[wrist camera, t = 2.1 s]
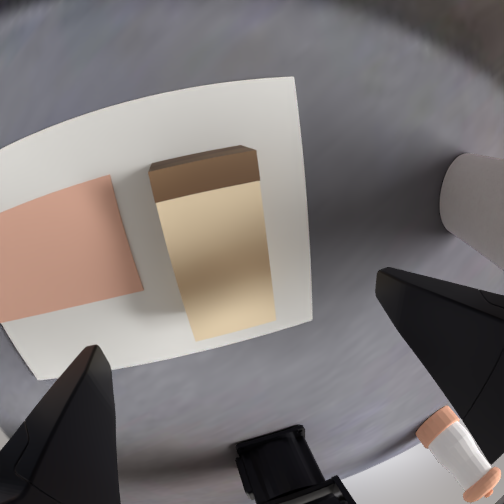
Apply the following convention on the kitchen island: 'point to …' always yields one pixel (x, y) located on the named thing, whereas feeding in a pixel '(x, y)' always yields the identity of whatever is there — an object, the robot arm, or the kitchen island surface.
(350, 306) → the kitchen island surface
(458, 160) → the coffee cup
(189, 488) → the kitchen island surface
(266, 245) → the wooden block
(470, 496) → the salt shaker
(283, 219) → the mat
